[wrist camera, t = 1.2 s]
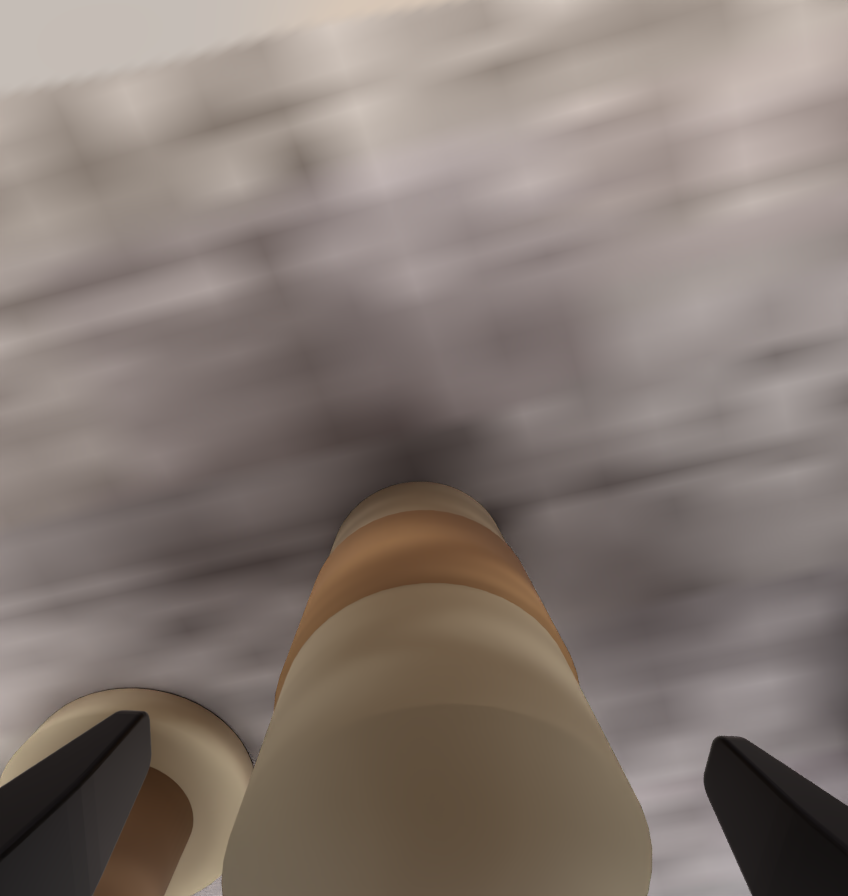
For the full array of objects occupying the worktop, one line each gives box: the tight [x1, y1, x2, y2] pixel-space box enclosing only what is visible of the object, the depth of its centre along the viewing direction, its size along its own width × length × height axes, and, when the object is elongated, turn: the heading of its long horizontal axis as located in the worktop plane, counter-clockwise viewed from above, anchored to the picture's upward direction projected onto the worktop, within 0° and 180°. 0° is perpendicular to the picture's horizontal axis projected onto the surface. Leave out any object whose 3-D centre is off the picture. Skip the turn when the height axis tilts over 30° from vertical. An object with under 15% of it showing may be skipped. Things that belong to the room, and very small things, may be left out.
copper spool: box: [222, 482, 652, 896], centre depth 9 cm, size 5×5×8 cm
